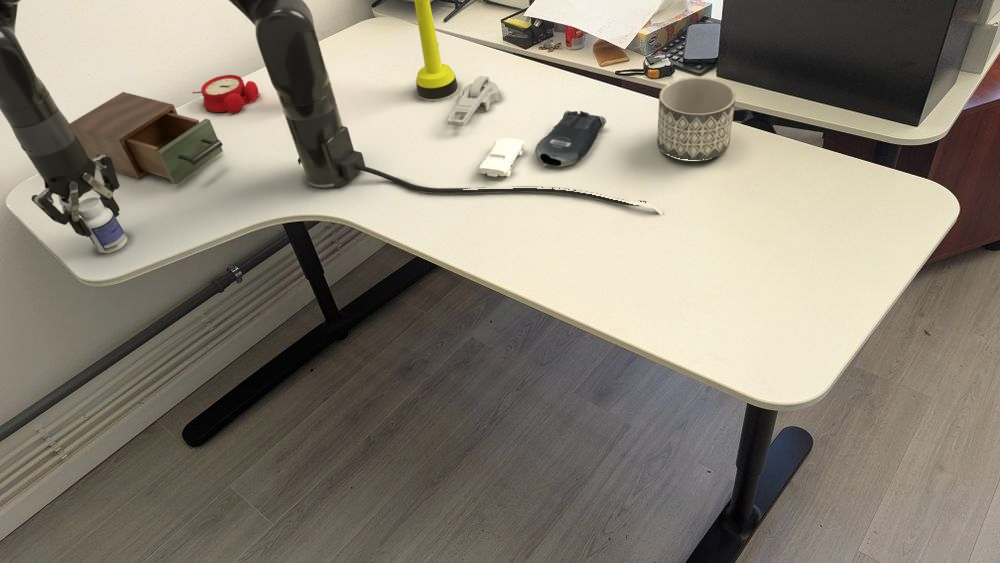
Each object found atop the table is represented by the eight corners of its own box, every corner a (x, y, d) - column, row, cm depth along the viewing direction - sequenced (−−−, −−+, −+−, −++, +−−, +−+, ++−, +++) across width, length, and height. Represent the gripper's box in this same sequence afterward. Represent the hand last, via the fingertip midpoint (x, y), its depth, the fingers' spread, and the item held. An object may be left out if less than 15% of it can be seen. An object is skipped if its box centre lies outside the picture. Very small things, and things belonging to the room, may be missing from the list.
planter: (722, 171, 125) (729, 118, 118) (649, 161, 129) (651, 110, 122) (733, 132, 133) (740, 80, 126) (665, 124, 138) (668, 74, 130)
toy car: (527, 147, 137) (526, 131, 135) (505, 183, 129) (503, 168, 127) (500, 143, 139) (498, 128, 136) (477, 180, 131) (475, 164, 128)
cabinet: (191, 143, 151) (173, 104, 145) (139, 179, 143) (118, 139, 137) (142, 129, 157) (122, 91, 151) (90, 163, 149) (67, 124, 143)
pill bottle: (134, 235, 129) (110, 195, 123) (117, 254, 126) (92, 214, 119) (108, 234, 130) (83, 194, 124) (91, 253, 127) (65, 213, 121)
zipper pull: (438, 133, 144) (435, 114, 141) (470, 88, 156) (467, 70, 153) (475, 137, 141) (472, 118, 138) (505, 91, 153) (503, 72, 150)
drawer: (240, 156, 143) (227, 123, 138) (193, 190, 136) (178, 158, 131) (174, 137, 152) (159, 106, 147) (127, 169, 144) (109, 138, 139)
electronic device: (559, 129, 143) (526, 161, 132) (563, 103, 139) (530, 134, 129) (603, 143, 140) (573, 177, 129) (608, 117, 136) (578, 149, 126)
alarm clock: (218, 71, 166) (260, 66, 158) (232, 96, 170) (274, 93, 161) (184, 93, 160) (227, 89, 152) (200, 118, 163) (241, 116, 155)
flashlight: (425, -17, 135) (448, -35, 141) (385, -20, 138) (408, -38, 144) (445, 103, 152) (465, 83, 158) (409, 98, 155) (429, 78, 161)
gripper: (22, 170, 107) (79, 256, 119) (102, 122, 116) (148, 206, 128) (-7, 160, 111) (52, 244, 122) (73, 113, 119) (120, 196, 131)
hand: (100, 224), depth 125 cm, fingers closed on pill bottle, 5 cm apart
